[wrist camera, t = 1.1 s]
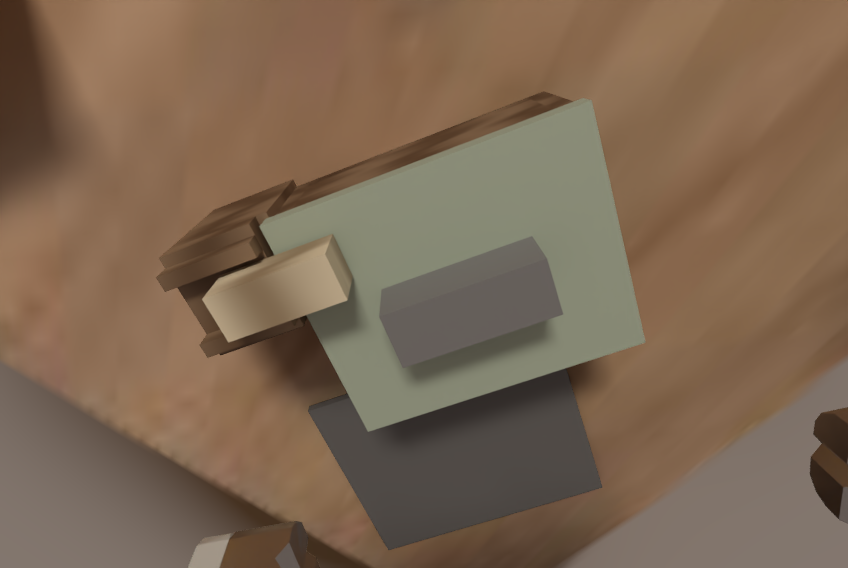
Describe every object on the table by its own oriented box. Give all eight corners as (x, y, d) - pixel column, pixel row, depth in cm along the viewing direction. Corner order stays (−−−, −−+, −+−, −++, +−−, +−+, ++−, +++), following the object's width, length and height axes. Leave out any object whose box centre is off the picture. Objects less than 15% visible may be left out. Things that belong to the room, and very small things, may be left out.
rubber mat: (552, 325, 38) (554, 329, 37) (600, 482, 44) (602, 487, 43) (309, 406, 40) (308, 411, 39) (388, 544, 46) (388, 550, 46)
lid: (576, 95, 25) (616, 107, 21) (629, 323, 31) (670, 373, 26) (269, 213, 27) (241, 248, 23) (370, 408, 33) (364, 469, 28)
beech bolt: (332, 233, 25) (325, 253, 23) (352, 276, 26) (347, 300, 24) (221, 275, 26) (201, 299, 23) (244, 315, 27) (228, 342, 24)
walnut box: (541, 83, 31) (593, 97, 22) (592, 279, 36) (649, 351, 28) (213, 210, 33) (148, 266, 25) (307, 376, 39) (280, 469, 30)
